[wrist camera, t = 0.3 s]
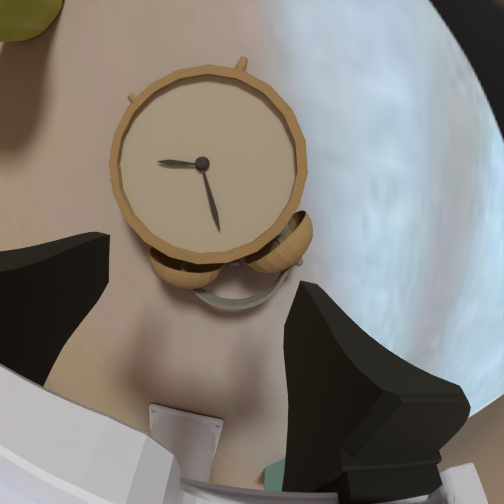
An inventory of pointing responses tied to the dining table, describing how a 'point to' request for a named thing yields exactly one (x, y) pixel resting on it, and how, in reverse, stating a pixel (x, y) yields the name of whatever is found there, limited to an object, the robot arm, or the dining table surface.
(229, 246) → the alarm clock
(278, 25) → the dining table surface
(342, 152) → the dining table surface
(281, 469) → the teal block
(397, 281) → the dining table surface
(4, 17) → the plant pot
